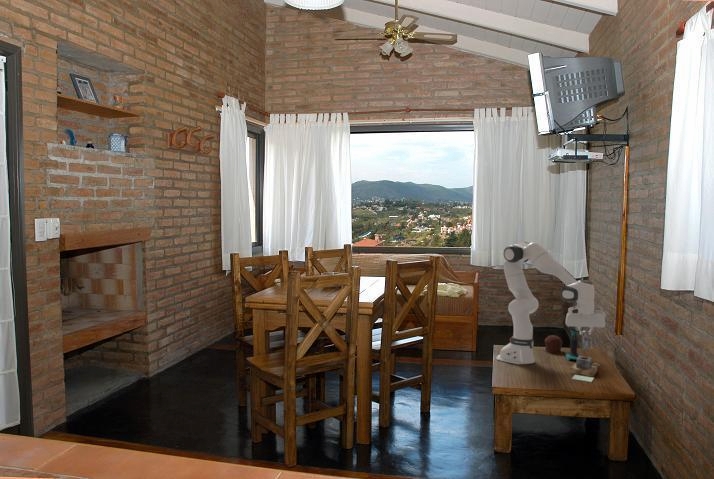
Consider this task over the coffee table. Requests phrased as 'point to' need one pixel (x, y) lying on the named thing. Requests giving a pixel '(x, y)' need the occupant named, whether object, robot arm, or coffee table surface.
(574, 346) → the power drill
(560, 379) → the coffee table surface
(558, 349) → the muffin
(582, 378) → the mat
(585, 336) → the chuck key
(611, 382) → the coffee table surface
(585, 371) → the block
